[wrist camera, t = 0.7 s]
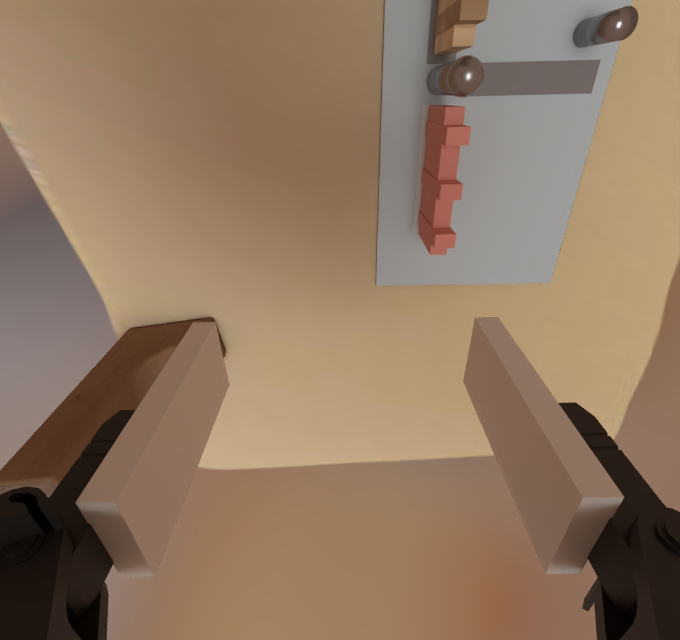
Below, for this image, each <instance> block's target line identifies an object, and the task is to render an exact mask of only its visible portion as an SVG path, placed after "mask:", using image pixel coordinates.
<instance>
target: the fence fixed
mask: <svg viewBox="0 0 680 640" xmlns="http://www.w3.org/2000/svg"><path fill="white" fill-rule="evenodd" d="M488 5H489V0H439V1H438V12H437V17H436V18H435V29H434V37H435V47H434V55H444V54H454V53H456V52H459V51H462V50H464V49H467V48H470V47H473V46H474V38H475V30H476V25H477V24H479V23H481V22H483V21H485V20H486V19H487V12H488Z"/></svg>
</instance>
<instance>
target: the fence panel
mask: <svg viewBox="0 0 680 640" xmlns="http://www.w3.org/2000/svg"><path fill="white" fill-rule="evenodd" d="M464 115H465V107H463V106H452V105H429V115H428V121H427V123H426V134H425V136H426V137H427V138H426V150H425V161H424V168H423V169H422V182H423V184H422V196H421V207H420V210H419V216H418V223H419V230H418V234H419V236H420V238H421V240H422V241H423V243H424V245H425V247H426V249H427V250H428V252H429V254H430V255H446V253H447V248H454V247H455V240H456V233H455V232H454V231H453V230H452V228H451V227H450V223H451V215H452V207H453V200H461V197H462V190H463V184H462V183H461V182H460V181H458V180H457V179H456V176H457V169H458V161H459V153H460V146H462V145H469V140H470V133H471V127H470V126H466V125H463V123H464Z"/></svg>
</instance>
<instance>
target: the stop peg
mask: <svg viewBox="0 0 680 640" xmlns="http://www.w3.org/2000/svg"><path fill="white" fill-rule="evenodd" d="M637 22H638V13H637V10H636V9H635V8H634V7H632V6H625V7H622V8H619V9H616V10H612V11H609V12H606V13H603V14H600V15H596V16H593V17H590V18H587V19H584V20H582V21H581V22H580V23H579V24H578V25H577V26H576V28H575V30H574V33H573V42H574V44H575V45H576V46H577V47H579V48H584V47H590V46H595V45H600V44H605V43H610V42H615V41H620V40H623V39H625V38H627V37H628V36H630V35H631V34H632V32H633V31H634V29H635V28H636V25H637Z"/></svg>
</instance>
